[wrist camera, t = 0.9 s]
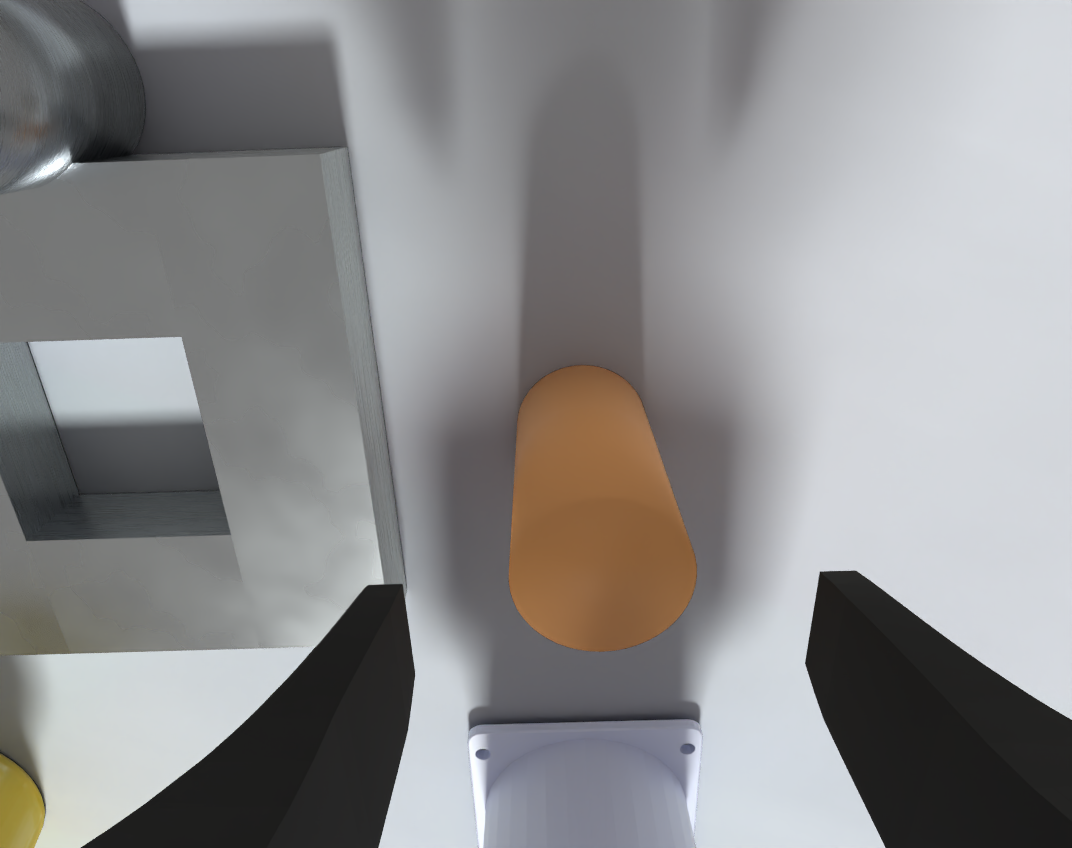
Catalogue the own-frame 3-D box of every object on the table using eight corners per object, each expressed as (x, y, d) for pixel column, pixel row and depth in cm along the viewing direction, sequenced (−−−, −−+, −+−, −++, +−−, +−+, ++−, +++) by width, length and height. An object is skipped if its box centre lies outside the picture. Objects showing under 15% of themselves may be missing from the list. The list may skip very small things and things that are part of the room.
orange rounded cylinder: (643, 480, 21) (691, 649, 14) (520, 483, 21) (513, 653, 14) (647, 363, 19) (703, 494, 13) (514, 367, 19) (504, 500, 13)
